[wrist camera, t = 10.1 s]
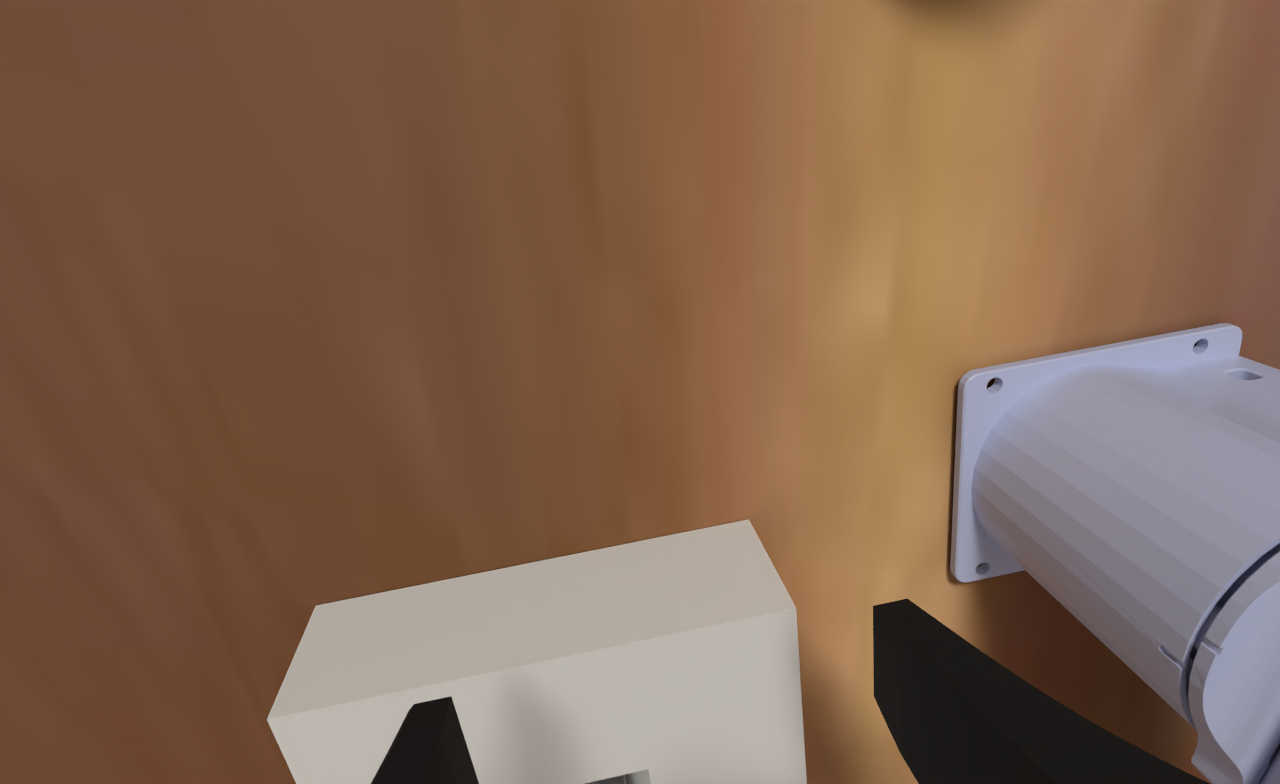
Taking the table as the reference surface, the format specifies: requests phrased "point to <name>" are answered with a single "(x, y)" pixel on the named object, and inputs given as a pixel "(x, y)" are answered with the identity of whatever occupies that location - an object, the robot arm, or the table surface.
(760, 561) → the hole block
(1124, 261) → the table surface
